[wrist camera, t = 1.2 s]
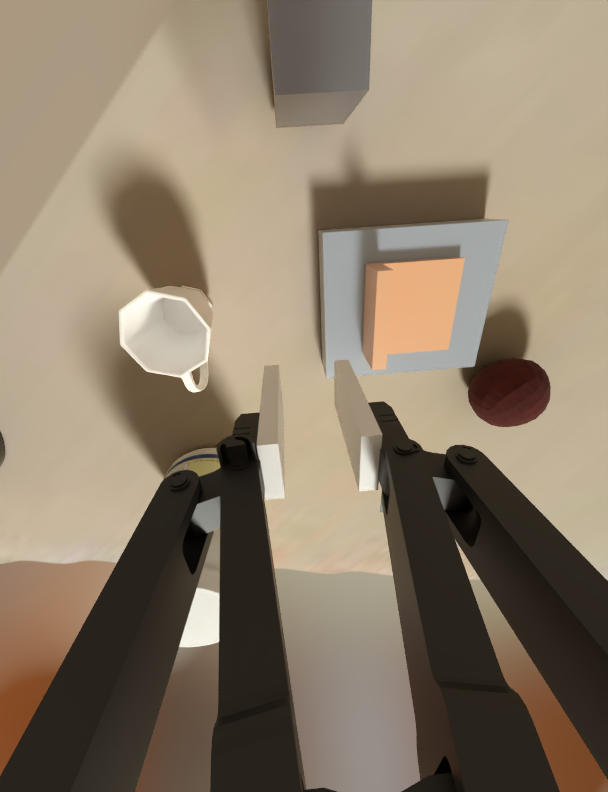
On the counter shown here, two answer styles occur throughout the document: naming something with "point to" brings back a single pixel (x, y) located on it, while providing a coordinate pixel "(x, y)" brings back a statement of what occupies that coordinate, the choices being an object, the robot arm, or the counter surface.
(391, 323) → the orange l-shaped bracket
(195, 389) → the cup
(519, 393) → the dark brown ball
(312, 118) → the plug
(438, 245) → the socket block
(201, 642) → the supplement tub
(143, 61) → the counter surface
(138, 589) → the robot arm
